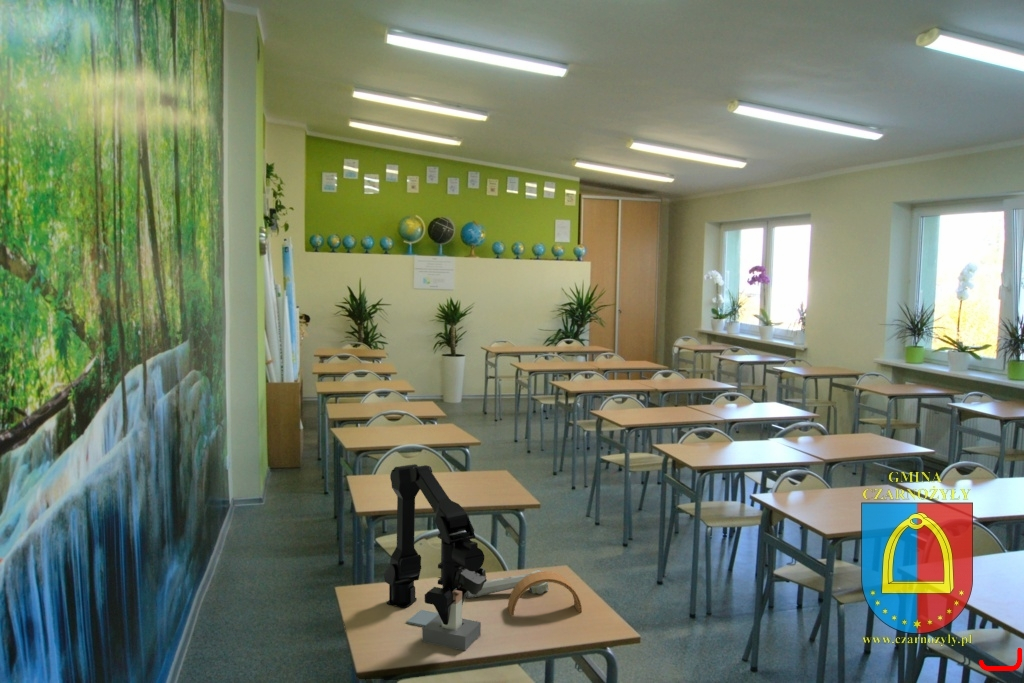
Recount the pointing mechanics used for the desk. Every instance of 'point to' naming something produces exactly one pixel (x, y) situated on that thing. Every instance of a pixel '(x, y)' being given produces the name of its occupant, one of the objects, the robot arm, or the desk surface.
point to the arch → (536, 579)
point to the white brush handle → (508, 585)
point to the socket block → (451, 634)
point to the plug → (455, 612)
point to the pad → (422, 618)
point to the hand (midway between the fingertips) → (451, 619)
